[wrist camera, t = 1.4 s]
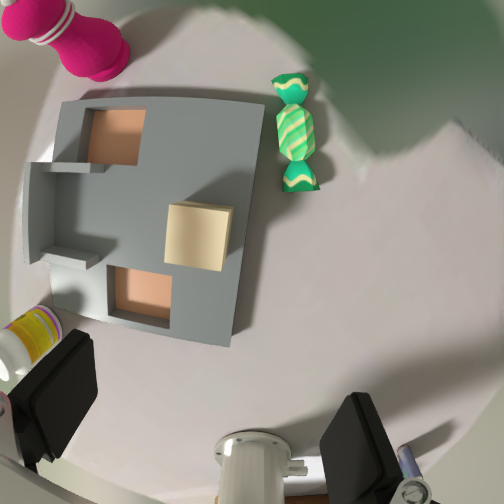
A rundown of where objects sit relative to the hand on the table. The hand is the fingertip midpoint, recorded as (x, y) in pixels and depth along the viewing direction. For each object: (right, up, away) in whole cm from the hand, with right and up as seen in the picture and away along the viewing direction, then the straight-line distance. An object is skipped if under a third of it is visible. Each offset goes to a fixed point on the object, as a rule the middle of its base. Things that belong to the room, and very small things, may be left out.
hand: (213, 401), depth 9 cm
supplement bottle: (-30, -6, +26) cm, 40 cm away
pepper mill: (-16, +29, +17) cm, 37 cm away
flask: (+32, -35, +32) cm, 57 cm away
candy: (+6, +18, +20) cm, 27 cm away
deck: (-11, +9, +22) cm, 26 cm away
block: (-3, +7, +20) cm, 21 cm away
